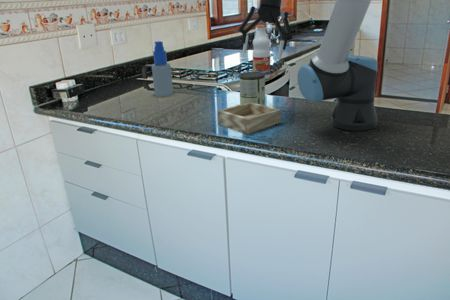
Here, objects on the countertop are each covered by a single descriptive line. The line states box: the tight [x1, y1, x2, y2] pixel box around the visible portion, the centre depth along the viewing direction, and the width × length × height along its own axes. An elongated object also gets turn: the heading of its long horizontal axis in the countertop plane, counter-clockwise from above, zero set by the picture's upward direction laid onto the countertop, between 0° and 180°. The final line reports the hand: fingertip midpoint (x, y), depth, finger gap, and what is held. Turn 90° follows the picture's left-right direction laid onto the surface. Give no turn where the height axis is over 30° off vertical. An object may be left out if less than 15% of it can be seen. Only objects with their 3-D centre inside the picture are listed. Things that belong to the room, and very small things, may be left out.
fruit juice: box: [252, 24, 271, 80], centre depth 203 cm, size 9×9×28 cm
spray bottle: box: [151, 41, 174, 98], centre depth 179 cm, size 9×9×25 cm
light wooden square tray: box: [217, 102, 282, 135], centre depth 134 cm, size 16×16×5 cm
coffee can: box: [238, 71, 266, 106], centre depth 150 cm, size 10×10×14 cm
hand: (261, 55), depth 140 cm, fingers open, 13 cm apart
